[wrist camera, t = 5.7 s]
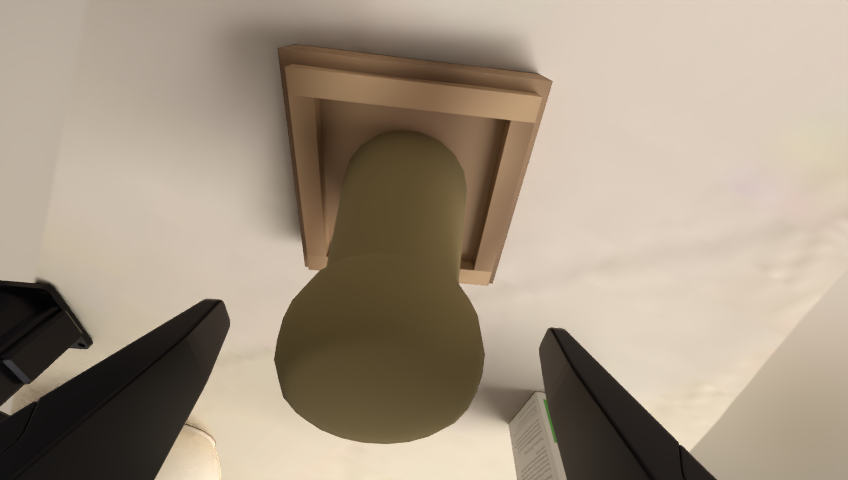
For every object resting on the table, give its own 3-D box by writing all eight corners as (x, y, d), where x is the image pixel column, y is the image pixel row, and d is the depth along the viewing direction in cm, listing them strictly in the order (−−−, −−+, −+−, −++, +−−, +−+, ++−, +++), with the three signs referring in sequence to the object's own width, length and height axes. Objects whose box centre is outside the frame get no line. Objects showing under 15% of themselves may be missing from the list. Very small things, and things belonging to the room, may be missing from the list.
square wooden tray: (315, 246, 21) (300, 275, 18) (294, 44, 14) (269, 49, 12) (487, 262, 21) (494, 292, 19) (539, 73, 15) (559, 84, 13)
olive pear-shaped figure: (318, 183, 16) (172, 402, 7) (411, 100, 14) (376, 262, 5) (400, 260, 19) (372, 492, 10) (490, 199, 16) (565, 428, 7)
